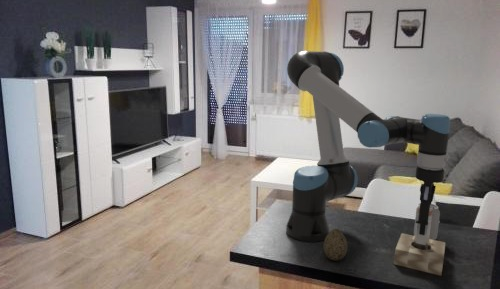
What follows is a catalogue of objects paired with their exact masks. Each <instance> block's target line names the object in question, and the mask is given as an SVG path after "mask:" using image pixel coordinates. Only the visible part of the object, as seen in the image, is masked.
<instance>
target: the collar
mask: <svg viewBox="0 0 500 289" xmlns="http://www.w3.org/2000/svg"><path fill="white" fill-rule="evenodd" d="M414 240H415V235H414V234H413V235H411V234H408V233H403V232H402V233H401V234H400V237H399V238H398V242H397V244H396V247H395V250H394V258H393V259H394V260H393V265H396V266H400V267H404V268H409V269H412V270H416V271H421V272H424V273H429V274H432V275H436V276H439V277H440V276H442V272H443V265H444V260H445V259H444V258H445V250H446V242H444V241H440V240H437V239H435V240H432V239H429V244H428V250H422V249H417V248H415V247H414Z"/></svg>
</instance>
